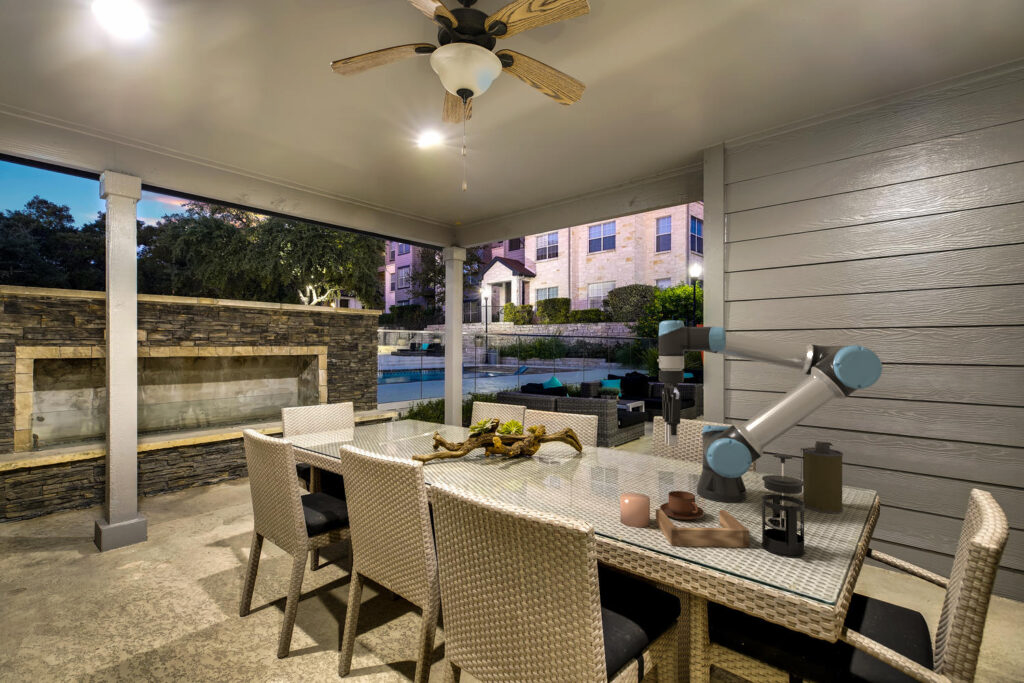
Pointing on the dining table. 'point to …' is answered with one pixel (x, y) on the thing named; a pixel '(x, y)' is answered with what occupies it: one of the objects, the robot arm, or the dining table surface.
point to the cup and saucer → (682, 506)
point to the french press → (784, 529)
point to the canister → (822, 478)
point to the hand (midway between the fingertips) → (671, 444)
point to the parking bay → (705, 532)
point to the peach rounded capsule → (635, 510)
